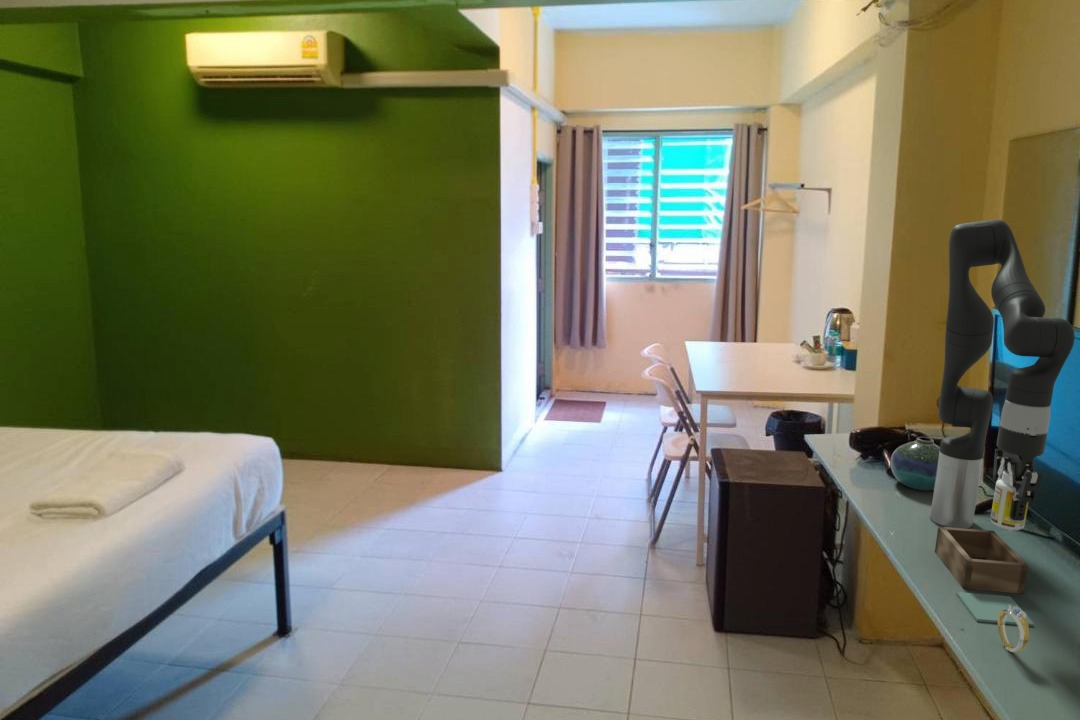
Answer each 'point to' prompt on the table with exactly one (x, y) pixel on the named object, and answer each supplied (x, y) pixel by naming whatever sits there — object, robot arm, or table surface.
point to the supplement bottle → (1005, 505)
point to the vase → (916, 463)
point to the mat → (989, 607)
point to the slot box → (990, 574)
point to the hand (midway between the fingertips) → (1009, 512)
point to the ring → (1023, 631)
